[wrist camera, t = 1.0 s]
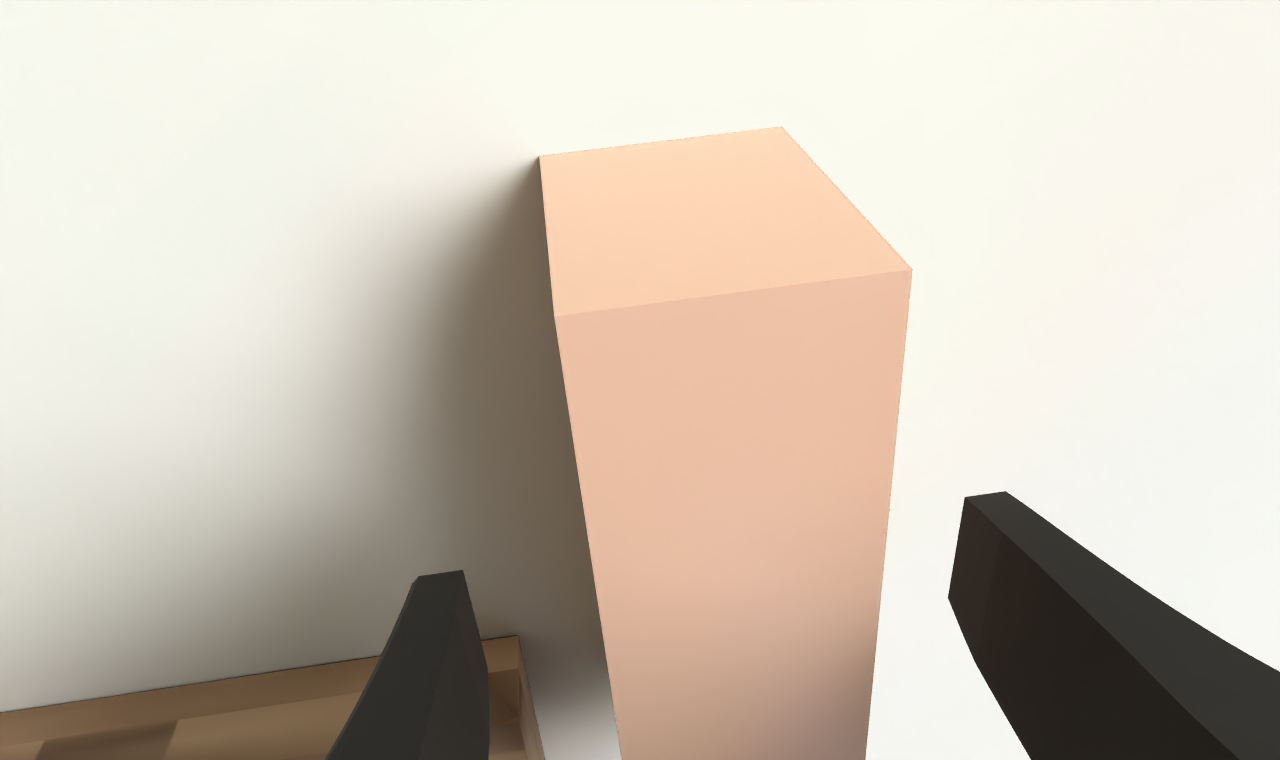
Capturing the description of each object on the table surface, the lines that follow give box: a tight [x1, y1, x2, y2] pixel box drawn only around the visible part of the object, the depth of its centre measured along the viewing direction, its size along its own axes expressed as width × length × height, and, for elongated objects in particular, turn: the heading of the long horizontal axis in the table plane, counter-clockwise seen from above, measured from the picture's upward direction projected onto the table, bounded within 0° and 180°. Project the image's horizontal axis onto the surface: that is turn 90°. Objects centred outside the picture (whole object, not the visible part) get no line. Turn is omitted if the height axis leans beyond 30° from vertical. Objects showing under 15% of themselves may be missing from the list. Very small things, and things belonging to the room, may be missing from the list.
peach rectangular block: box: [539, 127, 912, 760], centre depth 13 cm, size 11×4×5 cm, turn 5°
